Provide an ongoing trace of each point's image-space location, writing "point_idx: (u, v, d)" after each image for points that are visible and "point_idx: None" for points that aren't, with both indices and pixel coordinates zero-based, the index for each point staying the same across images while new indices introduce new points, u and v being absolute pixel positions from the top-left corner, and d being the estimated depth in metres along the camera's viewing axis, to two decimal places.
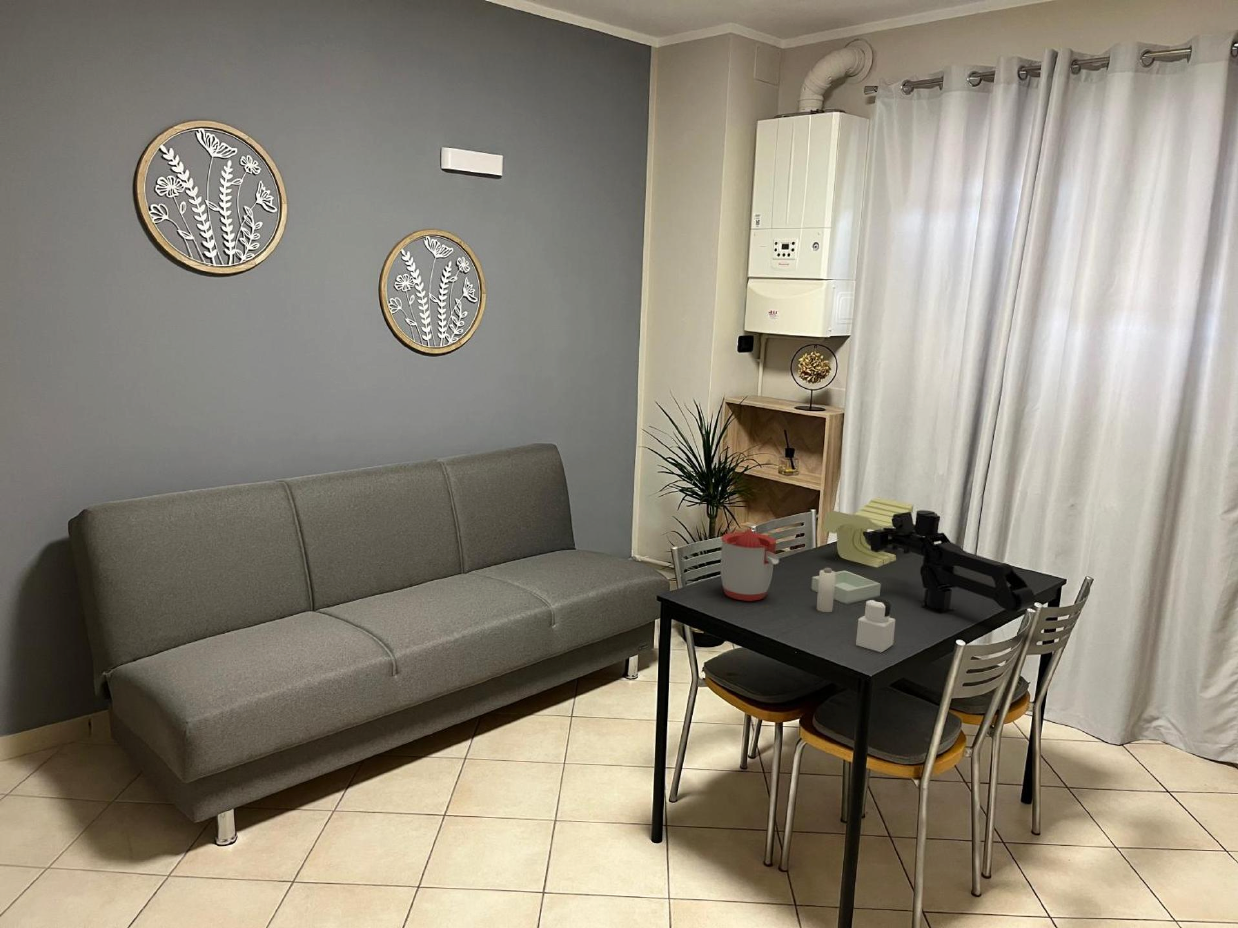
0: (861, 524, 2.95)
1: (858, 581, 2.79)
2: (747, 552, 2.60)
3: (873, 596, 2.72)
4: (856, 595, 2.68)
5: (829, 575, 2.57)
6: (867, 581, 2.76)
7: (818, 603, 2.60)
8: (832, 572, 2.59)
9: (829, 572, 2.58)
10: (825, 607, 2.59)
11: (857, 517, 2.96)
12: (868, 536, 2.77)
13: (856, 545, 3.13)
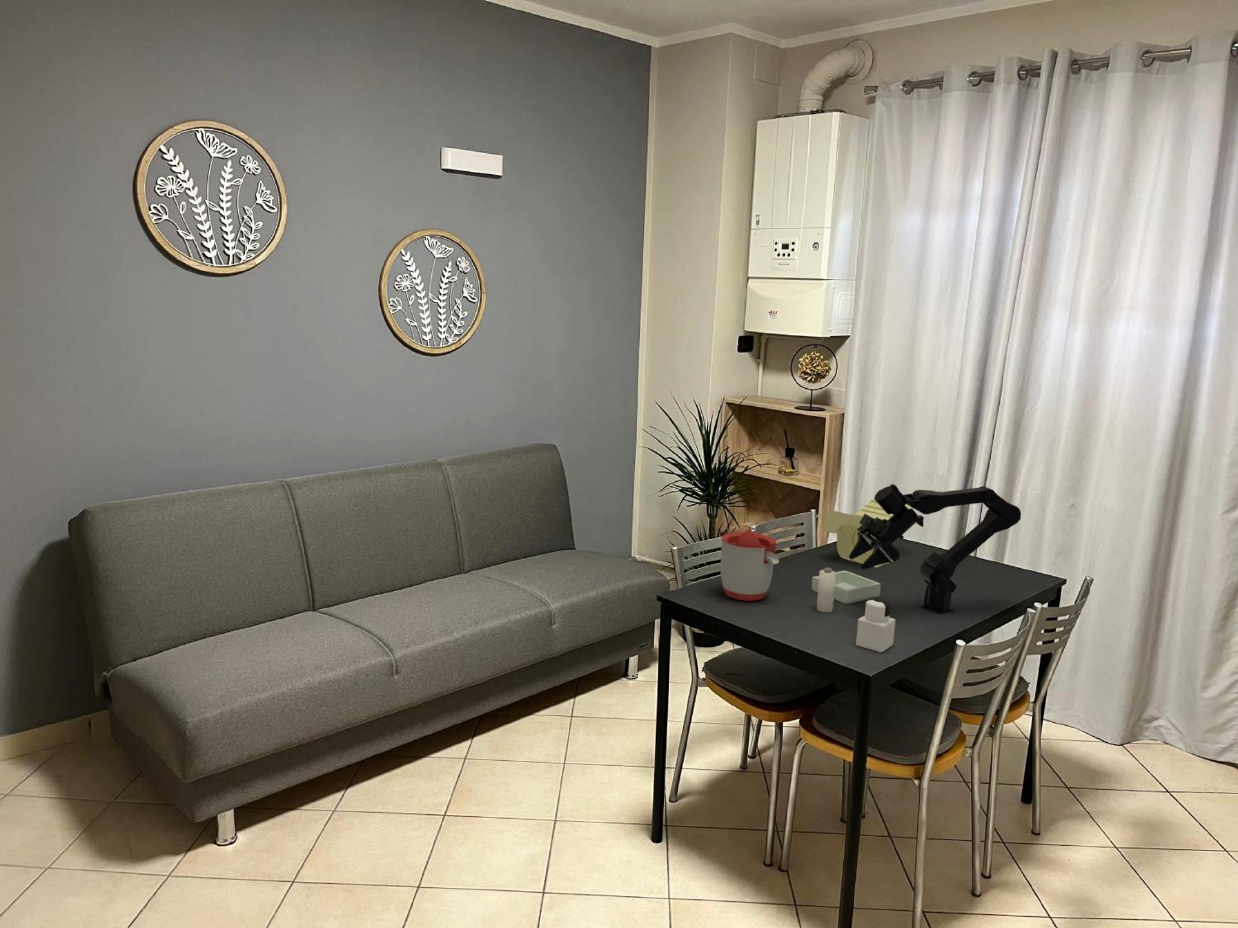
0: (861, 524, 2.95)
1: (858, 581, 2.79)
2: (747, 552, 2.60)
3: (873, 596, 2.72)
4: (856, 595, 2.68)
5: (829, 575, 2.57)
6: (867, 581, 2.76)
7: (818, 603, 2.60)
8: (832, 572, 2.59)
9: (829, 572, 2.58)
10: (825, 607, 2.59)
11: (857, 517, 2.96)
12: (871, 562, 2.54)
13: None
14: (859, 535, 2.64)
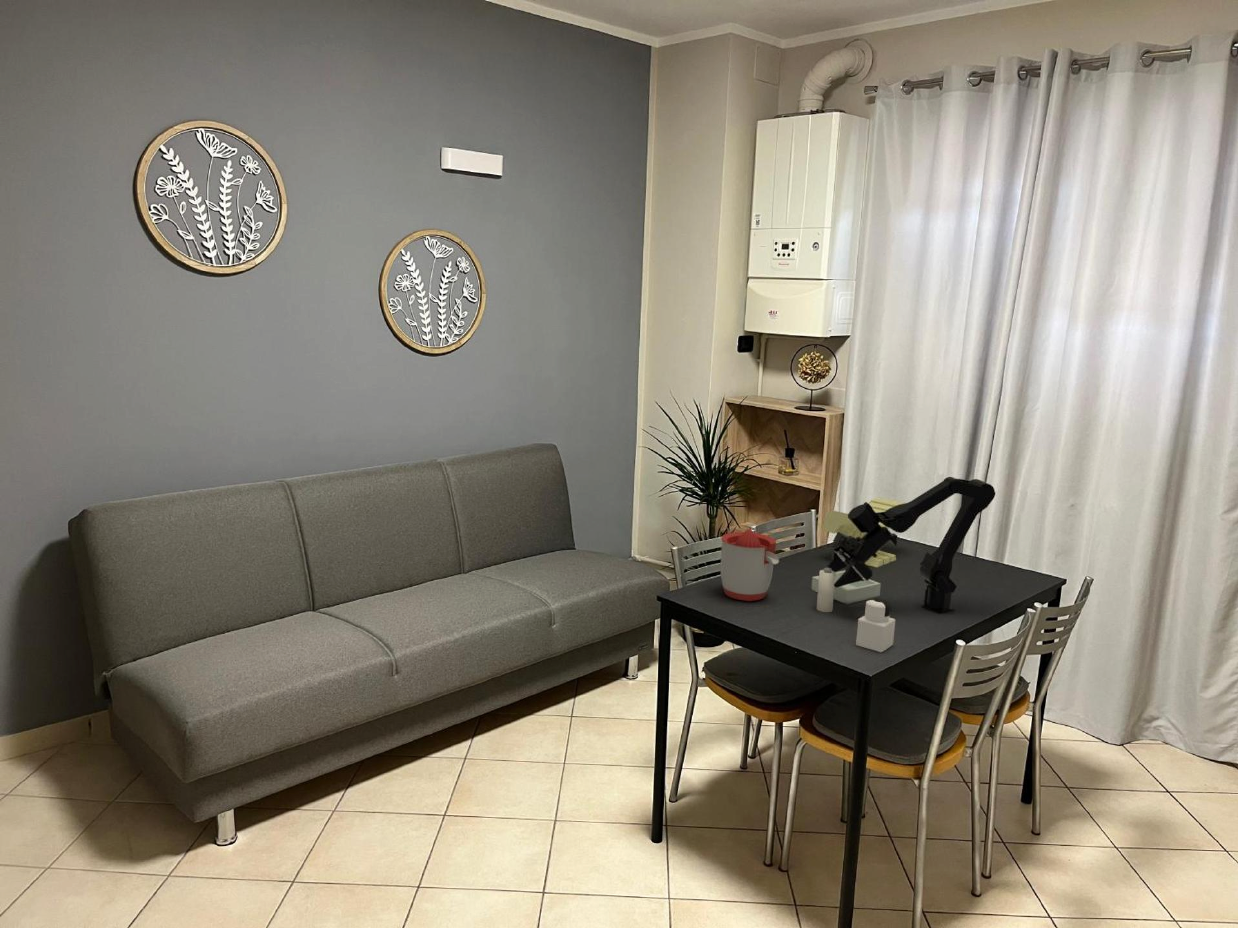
0: None
1: None
2: (747, 552, 2.60)
3: (873, 596, 2.72)
4: (856, 595, 2.68)
5: (828, 575, 2.57)
6: (867, 581, 2.76)
7: (818, 603, 2.60)
8: (832, 572, 2.59)
9: (829, 572, 2.58)
10: (825, 607, 2.59)
11: None
12: (844, 580, 2.54)
13: None
14: (833, 553, 2.64)
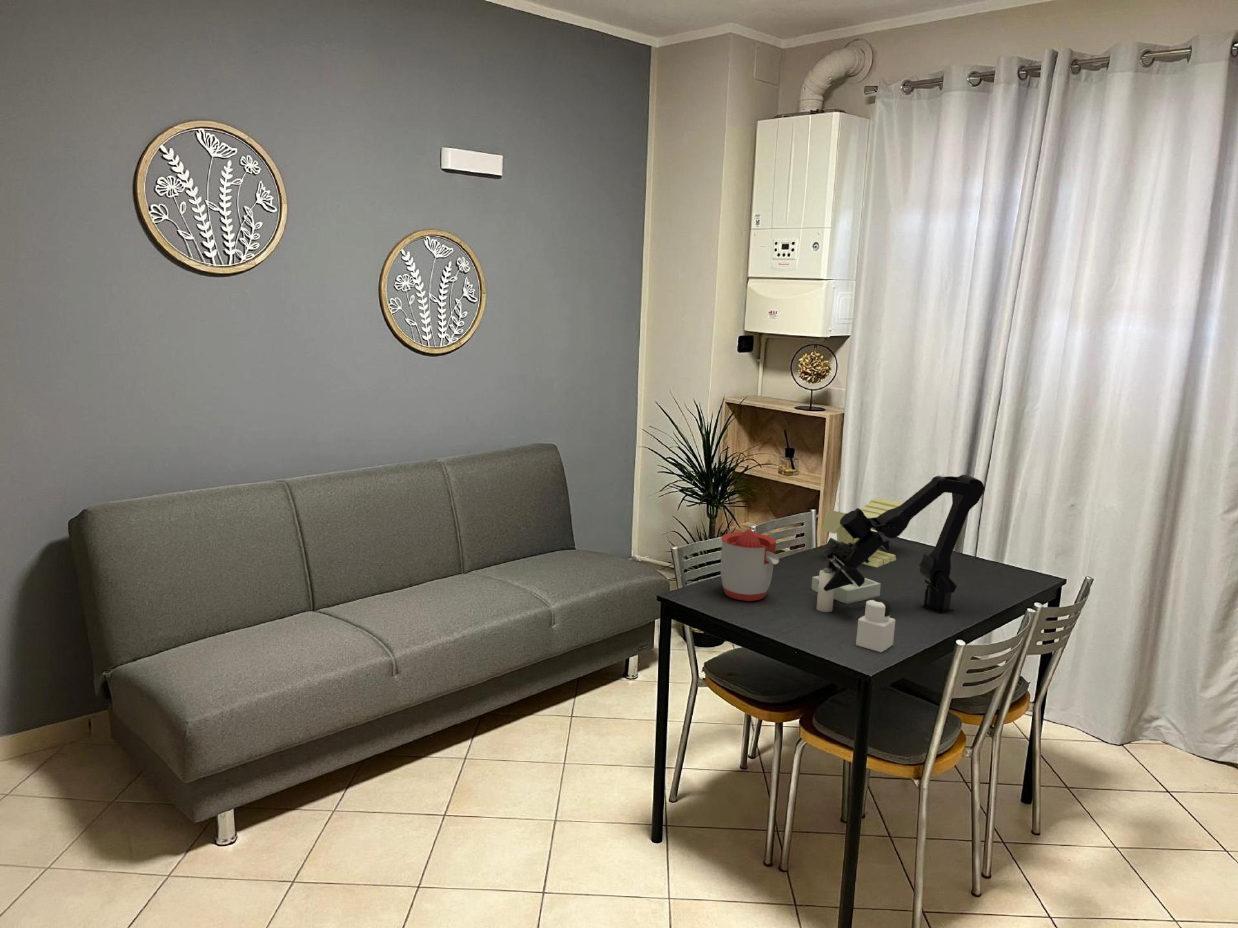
0: None
1: None
2: (747, 552, 2.60)
3: (873, 596, 2.72)
4: (856, 595, 2.68)
5: (829, 575, 2.57)
6: (867, 581, 2.76)
7: (818, 603, 2.60)
8: (832, 572, 2.59)
9: (829, 572, 2.58)
10: (825, 607, 2.59)
11: None
12: (834, 584, 2.56)
13: None
14: (828, 561, 2.62)
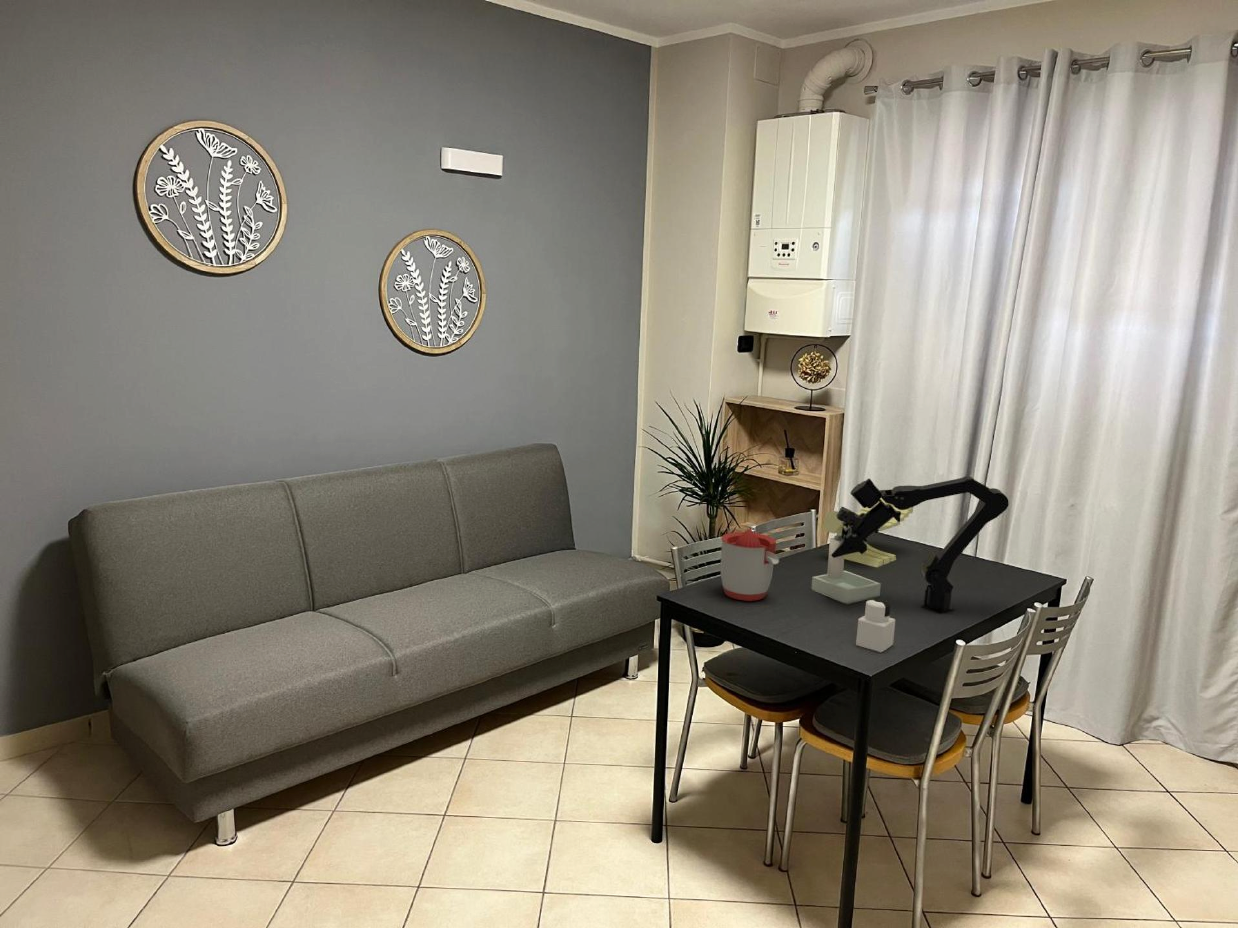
0: None
1: (858, 581, 2.79)
2: (747, 552, 2.60)
3: (873, 596, 2.72)
4: (856, 595, 2.68)
5: (836, 542, 2.65)
6: (867, 581, 2.76)
7: (828, 569, 2.68)
8: (842, 540, 2.66)
9: (838, 540, 2.65)
10: (833, 574, 2.66)
11: None
12: (841, 551, 2.64)
13: None
14: (842, 530, 2.69)
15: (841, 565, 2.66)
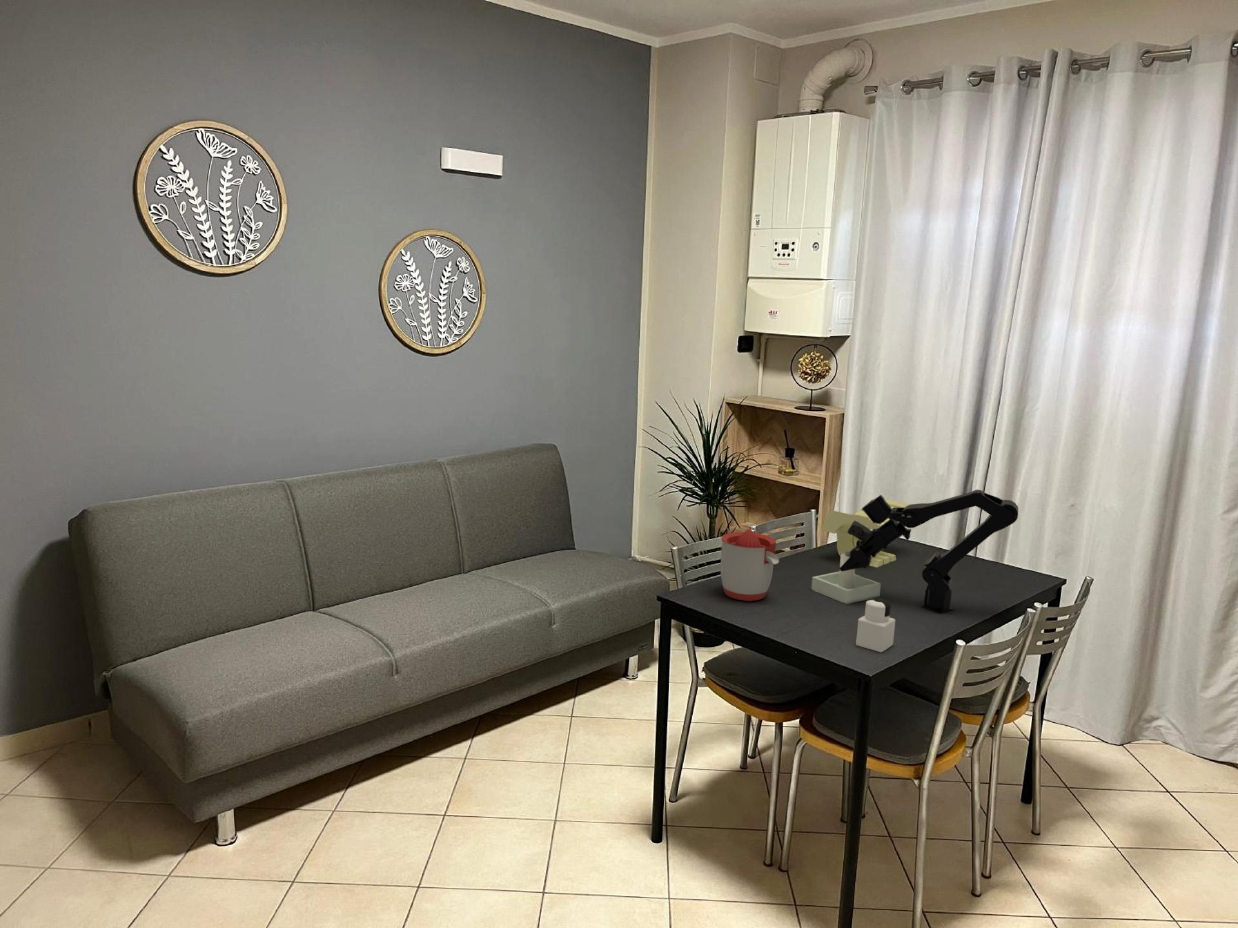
0: None
1: (858, 581, 2.79)
2: (747, 552, 2.60)
3: (873, 596, 2.72)
4: (856, 595, 2.68)
5: (845, 557, 2.72)
6: (867, 581, 2.76)
7: (838, 584, 2.75)
8: None
9: (848, 555, 2.72)
10: None
11: (857, 517, 2.96)
12: (848, 565, 2.69)
13: None
14: None
15: (850, 580, 2.73)
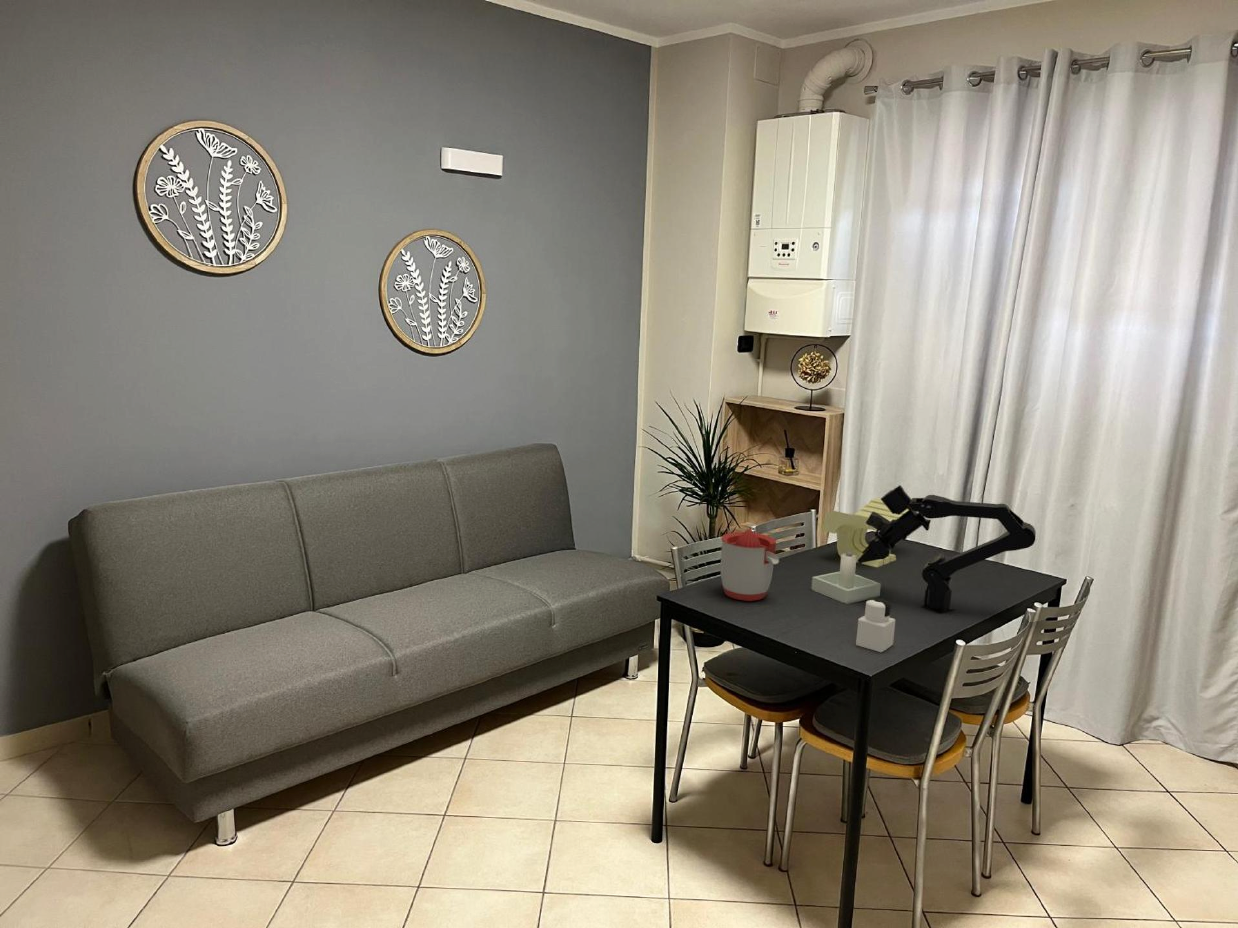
0: (861, 524, 2.95)
1: (858, 581, 2.79)
2: (747, 552, 2.60)
3: (873, 596, 2.72)
4: (856, 595, 2.68)
5: (846, 558, 2.72)
6: (867, 581, 2.76)
7: None
8: (853, 556, 2.73)
9: (848, 555, 2.72)
10: None
11: (857, 517, 2.96)
12: (866, 557, 2.66)
13: (856, 545, 3.13)
14: (875, 533, 2.75)
15: (850, 581, 2.73)
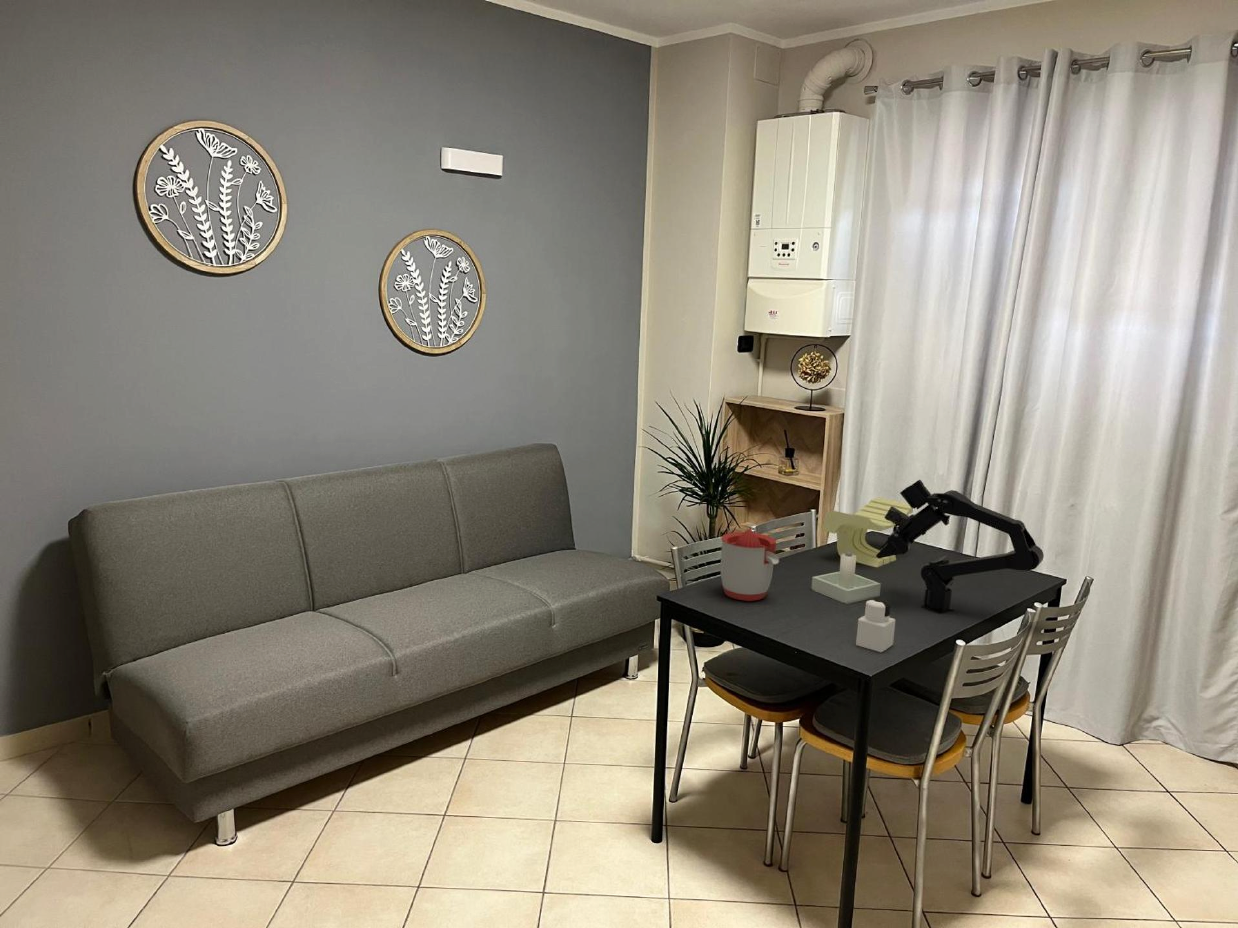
0: (861, 524, 2.95)
1: (858, 581, 2.79)
2: (747, 552, 2.60)
3: (873, 596, 2.72)
4: (856, 595, 2.68)
5: (846, 558, 2.72)
6: (867, 581, 2.76)
7: None
8: (852, 556, 2.73)
9: (848, 555, 2.72)
10: None
11: (857, 517, 2.96)
12: (885, 552, 2.64)
13: (856, 545, 3.13)
14: None
15: (850, 581, 2.73)
